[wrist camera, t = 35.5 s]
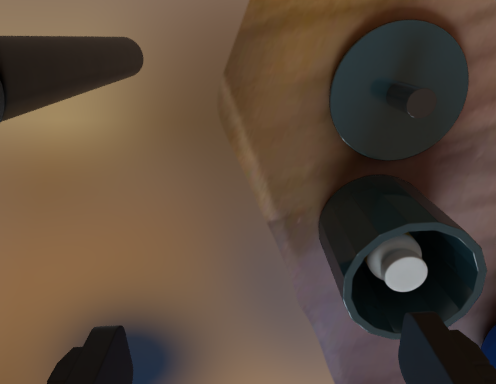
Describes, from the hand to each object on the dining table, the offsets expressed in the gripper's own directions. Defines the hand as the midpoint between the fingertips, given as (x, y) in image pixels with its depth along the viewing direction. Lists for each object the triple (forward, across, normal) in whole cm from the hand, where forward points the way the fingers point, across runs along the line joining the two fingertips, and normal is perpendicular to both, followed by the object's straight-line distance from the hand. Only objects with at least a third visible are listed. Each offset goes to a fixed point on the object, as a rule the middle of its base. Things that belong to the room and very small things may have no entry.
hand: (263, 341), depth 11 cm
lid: (+30, -15, -2) cm, 33 cm away
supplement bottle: (+30, -14, +13) cm, 35 cm away
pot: (+30, -14, +13) cm, 36 cm away
